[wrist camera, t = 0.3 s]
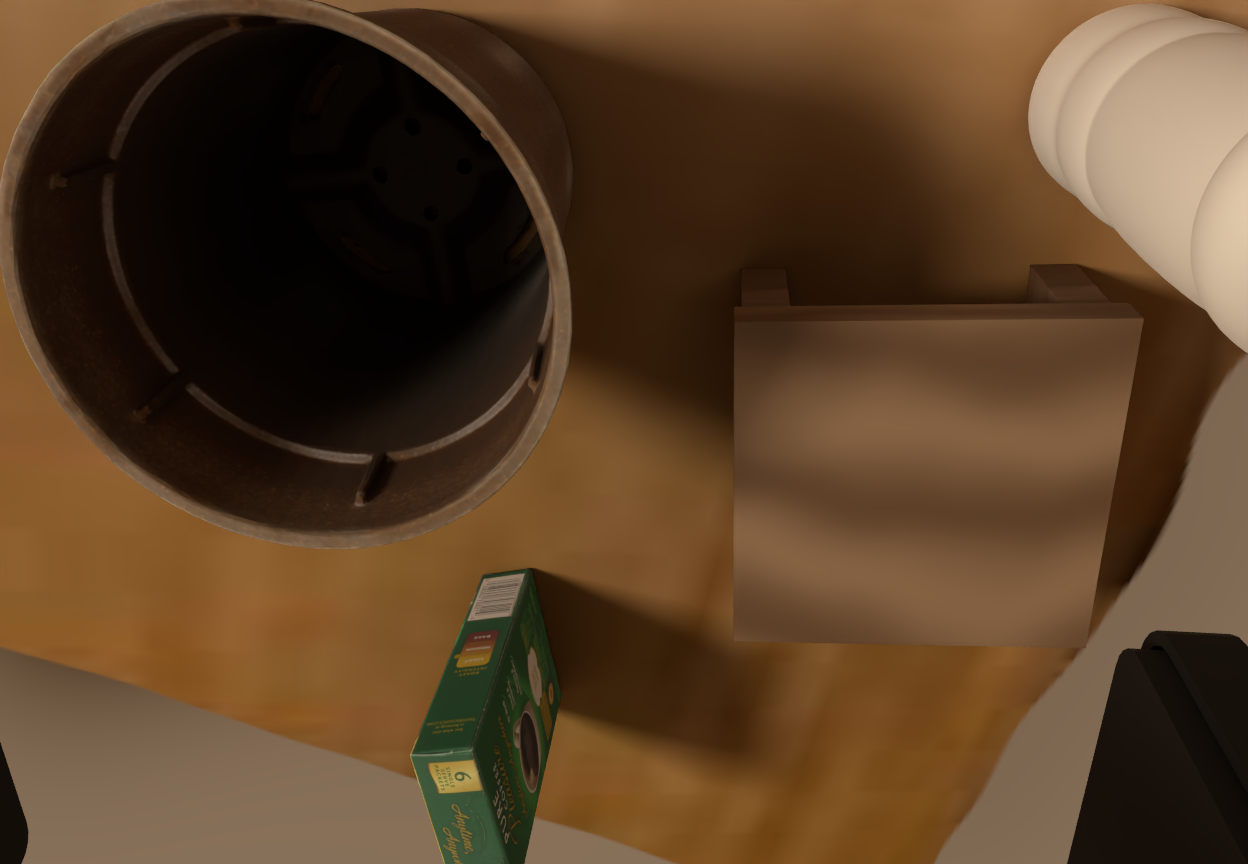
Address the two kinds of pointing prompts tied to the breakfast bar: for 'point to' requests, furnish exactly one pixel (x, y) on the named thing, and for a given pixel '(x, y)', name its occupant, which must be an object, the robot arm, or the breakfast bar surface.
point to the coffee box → (490, 726)
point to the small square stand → (926, 464)
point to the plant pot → (295, 262)
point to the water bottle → (1157, 144)
